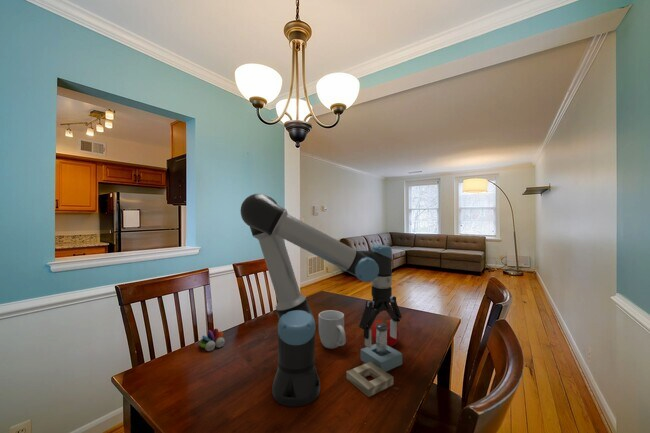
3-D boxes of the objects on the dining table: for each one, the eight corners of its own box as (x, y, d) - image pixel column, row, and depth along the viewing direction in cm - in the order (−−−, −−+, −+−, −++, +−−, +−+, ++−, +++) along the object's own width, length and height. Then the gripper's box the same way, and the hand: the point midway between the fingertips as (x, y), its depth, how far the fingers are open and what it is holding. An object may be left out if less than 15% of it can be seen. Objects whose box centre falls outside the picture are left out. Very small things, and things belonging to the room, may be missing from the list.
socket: (381, 373, 93) (381, 362, 93) (360, 359, 103) (360, 349, 103) (402, 364, 100) (402, 353, 99) (380, 351, 109) (380, 341, 109)
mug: (355, 350, 109) (355, 319, 109) (333, 358, 103) (333, 325, 103) (334, 336, 122) (334, 308, 121) (313, 343, 116) (313, 313, 115)
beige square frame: (368, 397, 81) (368, 389, 81) (346, 378, 91) (346, 371, 91) (393, 384, 87) (393, 377, 87) (370, 368, 97) (370, 361, 97)
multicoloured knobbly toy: (227, 346, 113) (228, 329, 113) (204, 354, 106) (204, 336, 106) (218, 339, 119) (218, 323, 119) (196, 347, 111) (196, 330, 111)
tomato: (394, 354, 107) (394, 328, 107) (367, 346, 112) (367, 322, 112) (401, 341, 117) (401, 318, 117) (376, 335, 123) (376, 313, 123)
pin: (381, 366, 98) (381, 329, 98) (372, 360, 102) (373, 324, 101) (389, 363, 100) (390, 326, 100) (380, 357, 104) (381, 322, 104)
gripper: (363, 293, 91) (363, 355, 91) (411, 283, 105) (410, 337, 105) (349, 288, 97) (349, 346, 97) (396, 279, 111) (395, 330, 111)
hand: (381, 341), depth 101 cm, fingers open, 13 cm apart
